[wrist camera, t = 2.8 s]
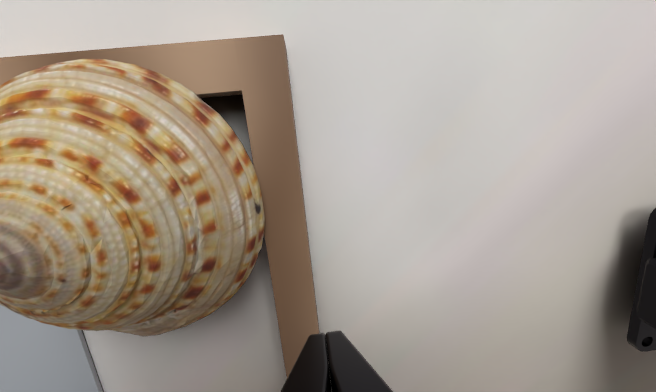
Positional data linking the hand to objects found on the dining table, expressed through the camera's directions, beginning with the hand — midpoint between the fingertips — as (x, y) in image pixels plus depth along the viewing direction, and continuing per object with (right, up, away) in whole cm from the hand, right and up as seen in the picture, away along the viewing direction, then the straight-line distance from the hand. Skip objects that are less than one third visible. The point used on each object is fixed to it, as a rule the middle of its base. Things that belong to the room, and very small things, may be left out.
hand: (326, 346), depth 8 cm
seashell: (-6, 0, +4) cm, 7 cm away
